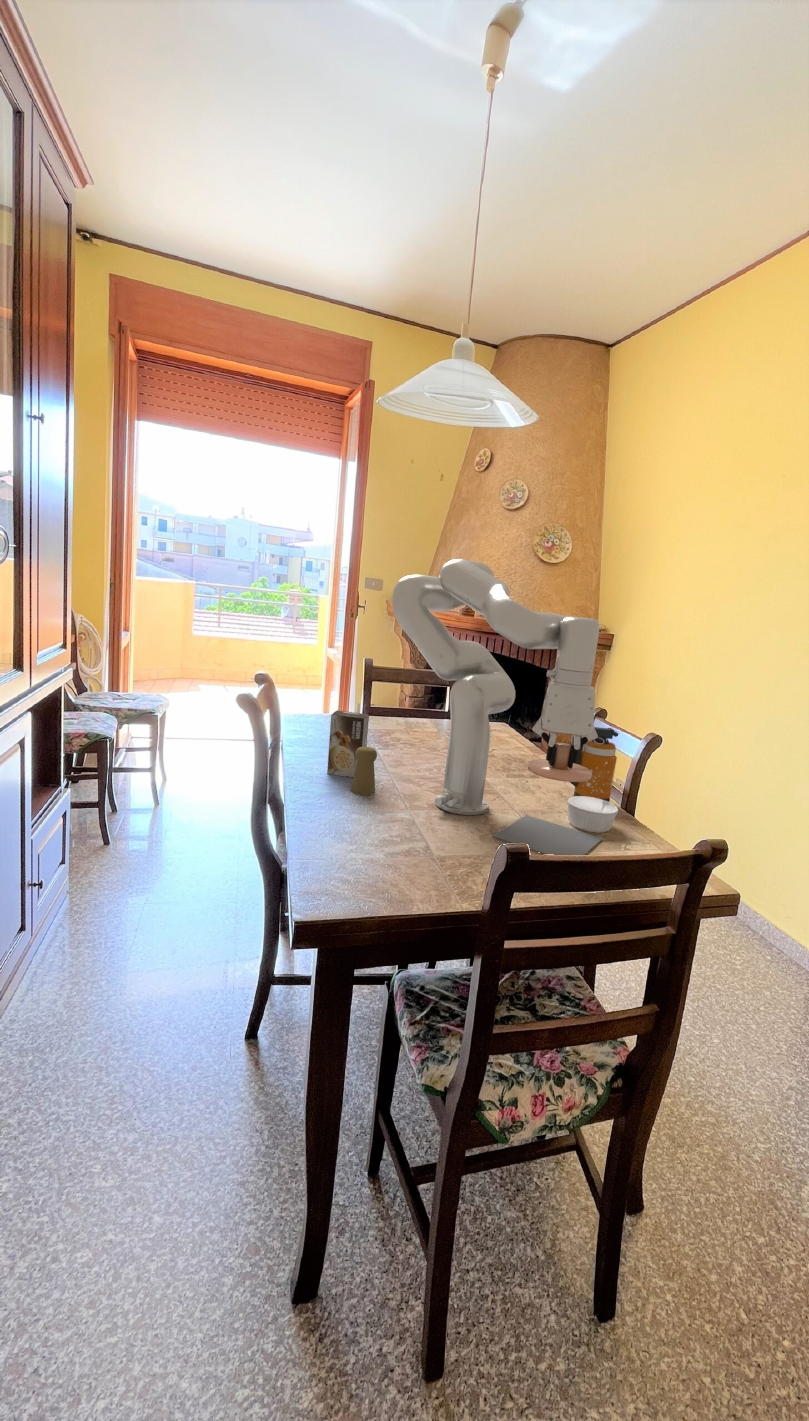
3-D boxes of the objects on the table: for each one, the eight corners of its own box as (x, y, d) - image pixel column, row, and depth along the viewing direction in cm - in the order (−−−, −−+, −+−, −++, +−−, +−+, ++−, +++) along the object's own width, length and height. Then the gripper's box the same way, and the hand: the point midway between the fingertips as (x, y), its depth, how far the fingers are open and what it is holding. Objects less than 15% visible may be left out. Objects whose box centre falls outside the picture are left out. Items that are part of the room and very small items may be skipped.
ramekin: (624, 835, 141) (627, 813, 140) (578, 835, 139) (582, 812, 138) (599, 817, 152) (602, 796, 151) (556, 816, 149) (559, 795, 148)
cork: (378, 790, 155) (383, 747, 153) (369, 797, 149) (373, 752, 147) (356, 785, 157) (360, 743, 155) (346, 792, 151) (350, 748, 149)
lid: (578, 786, 122) (583, 756, 121) (517, 770, 129) (521, 742, 128) (599, 774, 133) (603, 746, 132) (542, 760, 140) (545, 734, 139)
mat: (574, 865, 122) (574, 863, 122) (491, 837, 132) (491, 835, 132) (602, 839, 137) (602, 838, 137) (526, 816, 147) (526, 815, 147)
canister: (613, 809, 158) (626, 732, 155) (569, 805, 158) (581, 728, 155) (603, 797, 167) (615, 724, 163) (561, 793, 167) (572, 720, 163)
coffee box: (365, 772, 168) (370, 714, 165) (359, 779, 162) (365, 718, 159) (332, 767, 170) (337, 709, 167) (325, 774, 164) (330, 713, 161)
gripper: (534, 676, 125) (522, 765, 128) (618, 685, 124) (604, 774, 127) (529, 672, 132) (518, 756, 135) (608, 680, 131) (595, 765, 134)
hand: (560, 764), depth 131 cm, fingers closed on lid, 3 cm apart
